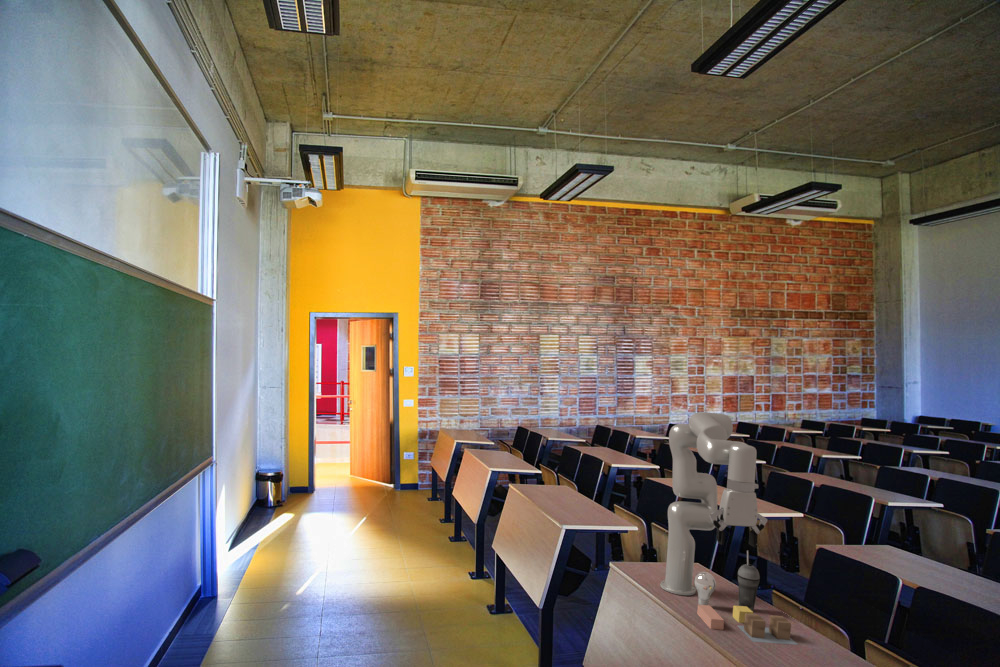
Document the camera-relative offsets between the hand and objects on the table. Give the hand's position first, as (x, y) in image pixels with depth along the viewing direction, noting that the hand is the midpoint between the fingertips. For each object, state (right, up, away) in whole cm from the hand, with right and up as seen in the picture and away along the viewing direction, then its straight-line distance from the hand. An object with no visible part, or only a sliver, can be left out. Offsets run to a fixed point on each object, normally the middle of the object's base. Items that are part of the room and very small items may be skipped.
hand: (736, 544), depth 180 cm
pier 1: (+8, -30, +6) cm, 31 cm away
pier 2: (+16, -30, +7) cm, 35 cm away
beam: (-4, -30, +13) cm, 33 cm away
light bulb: (-1, -31, +26) cm, 40 cm away
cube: (+8, -31, +16) cm, 36 cm away
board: (+12, -31, +7) cm, 34 cm away
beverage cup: (+14, -32, +27) cm, 44 cm away
